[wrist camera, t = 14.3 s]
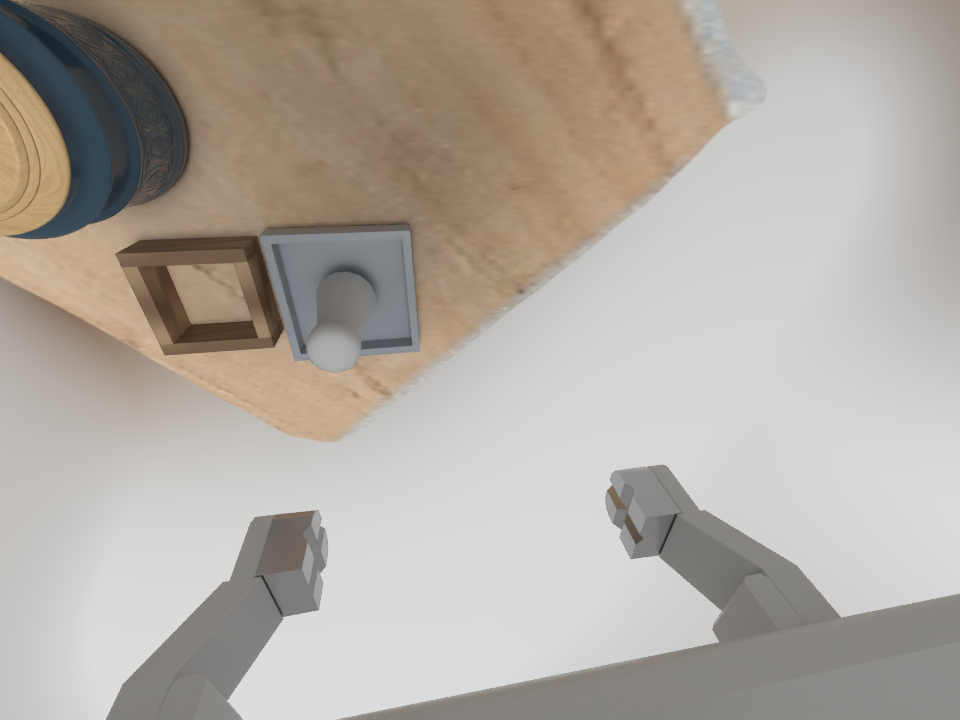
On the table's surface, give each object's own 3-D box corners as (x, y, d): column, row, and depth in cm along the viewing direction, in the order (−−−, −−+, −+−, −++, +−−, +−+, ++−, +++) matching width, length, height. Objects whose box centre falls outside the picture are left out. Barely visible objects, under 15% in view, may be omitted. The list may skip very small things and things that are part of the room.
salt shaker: (319, 260, 41) (290, 318, 30) (378, 267, 42) (370, 324, 31) (321, 313, 44) (295, 383, 33) (376, 317, 45) (368, 385, 34)
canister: (-53, 68, 30) (-496, 38, 15) (85, -30, 28) (-257, -169, 13) (112, 227, 37) (-79, 312, 22) (228, 156, 35) (107, 196, 21)
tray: (266, 228, 39) (259, 235, 37) (409, 224, 41) (409, 230, 39) (299, 349, 46) (294, 360, 44) (419, 340, 48) (419, 351, 46)
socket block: (140, 240, 38) (115, 253, 34) (256, 236, 39) (243, 249, 36) (182, 335, 43) (164, 355, 40) (283, 329, 45) (274, 347, 41)
